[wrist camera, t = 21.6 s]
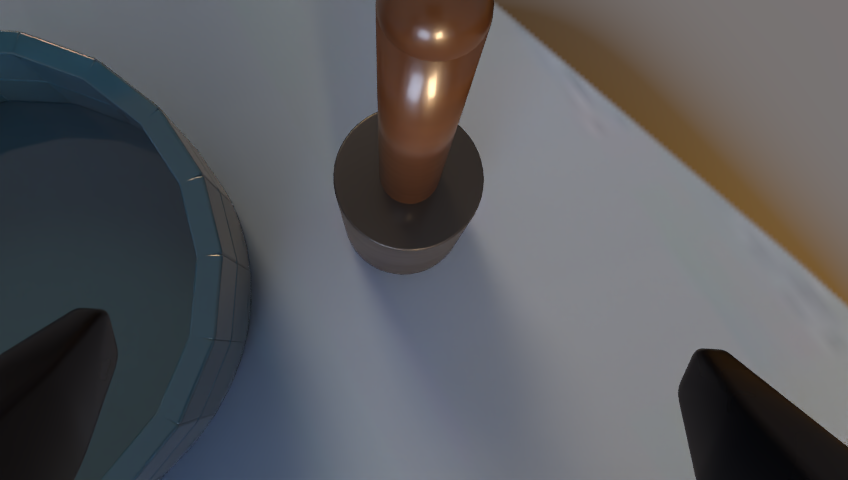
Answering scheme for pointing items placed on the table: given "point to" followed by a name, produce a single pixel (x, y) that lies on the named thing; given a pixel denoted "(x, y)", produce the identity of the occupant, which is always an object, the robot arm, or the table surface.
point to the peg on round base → (415, 137)
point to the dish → (119, 249)
